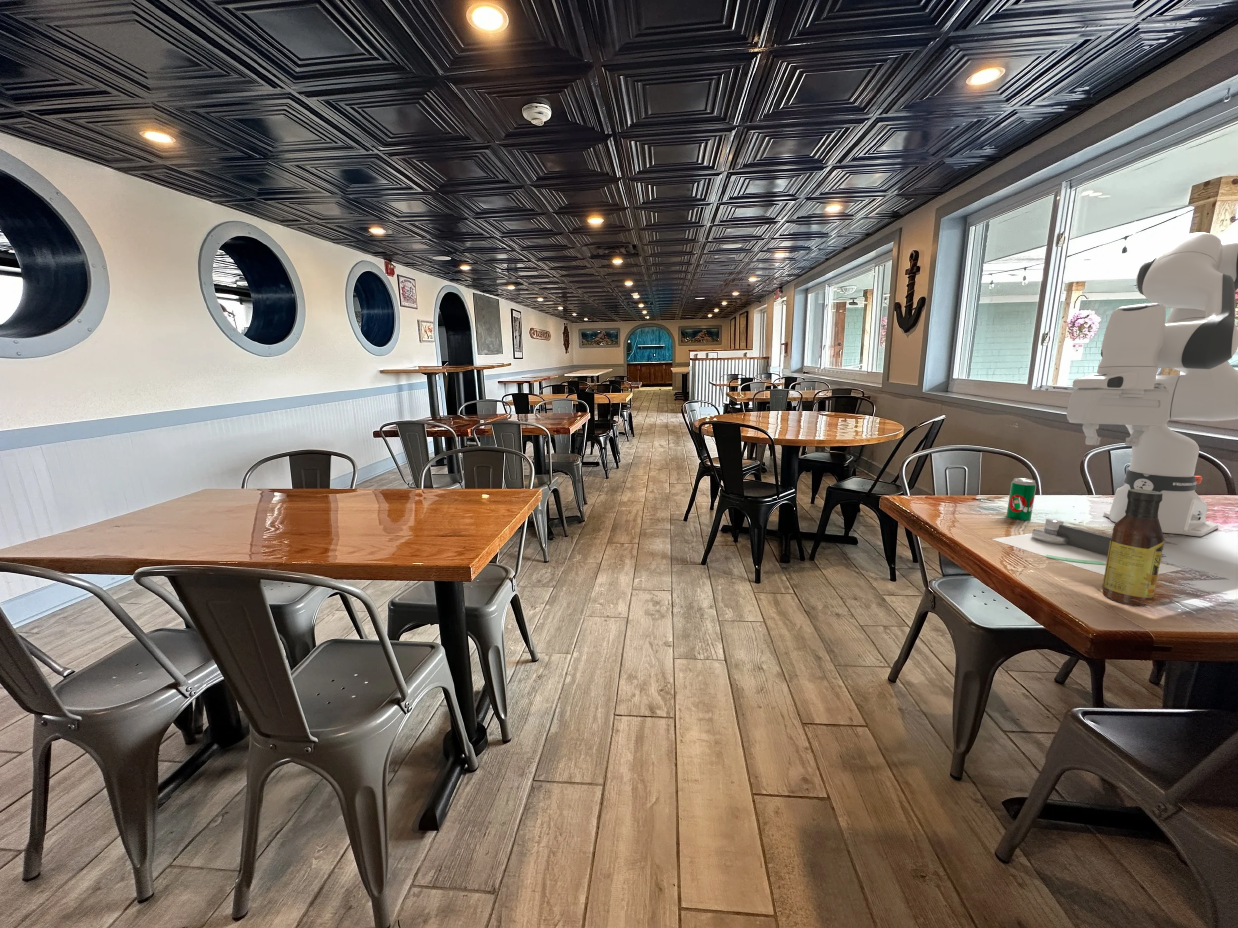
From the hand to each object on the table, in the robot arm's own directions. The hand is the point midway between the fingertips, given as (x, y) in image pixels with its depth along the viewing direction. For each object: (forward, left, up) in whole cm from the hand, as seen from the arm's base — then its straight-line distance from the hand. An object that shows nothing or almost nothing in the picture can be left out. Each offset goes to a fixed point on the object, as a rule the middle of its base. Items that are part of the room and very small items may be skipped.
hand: (1112, 445), depth 103 cm
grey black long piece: (+7, 0, -22) cm, 23 cm away
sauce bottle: (+24, +18, -24) cm, 39 cm away
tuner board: (+10, +3, -24) cm, 26 cm away
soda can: (-5, -19, -24) cm, 31 cm away
